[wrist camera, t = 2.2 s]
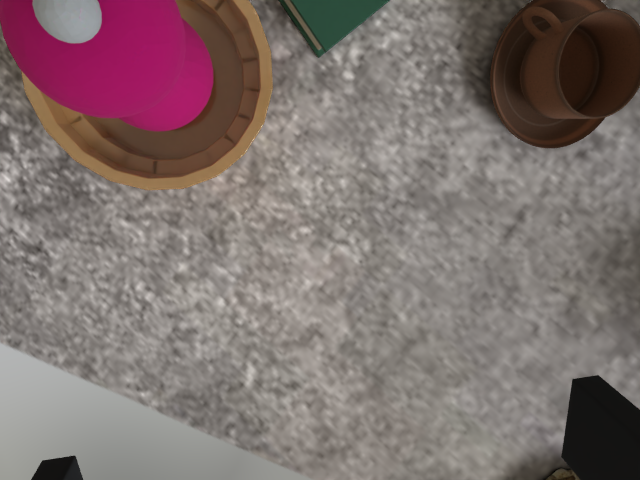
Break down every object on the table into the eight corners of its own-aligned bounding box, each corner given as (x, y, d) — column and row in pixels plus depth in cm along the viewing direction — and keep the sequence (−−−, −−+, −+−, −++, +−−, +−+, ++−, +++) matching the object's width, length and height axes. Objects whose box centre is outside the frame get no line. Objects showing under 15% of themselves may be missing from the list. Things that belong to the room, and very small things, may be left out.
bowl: (171, -84, 29) (160, -125, 24) (304, 100, 34) (316, 96, 29) (1, 54, 29) (-43, 40, 24) (157, 219, 34) (145, 234, 29)
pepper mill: (88, 44, 30) (-165, -102, 11) (188, 7, 30) (117, -194, 11) (139, 146, 32) (4, 174, 13) (231, 109, 32) (233, 84, 13)
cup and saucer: (457, 118, 36) (500, 116, 31) (517, -31, 34) (576, -63, 29) (568, 166, 40) (626, 173, 34) (629, 33, 38) (702, 15, 32)
